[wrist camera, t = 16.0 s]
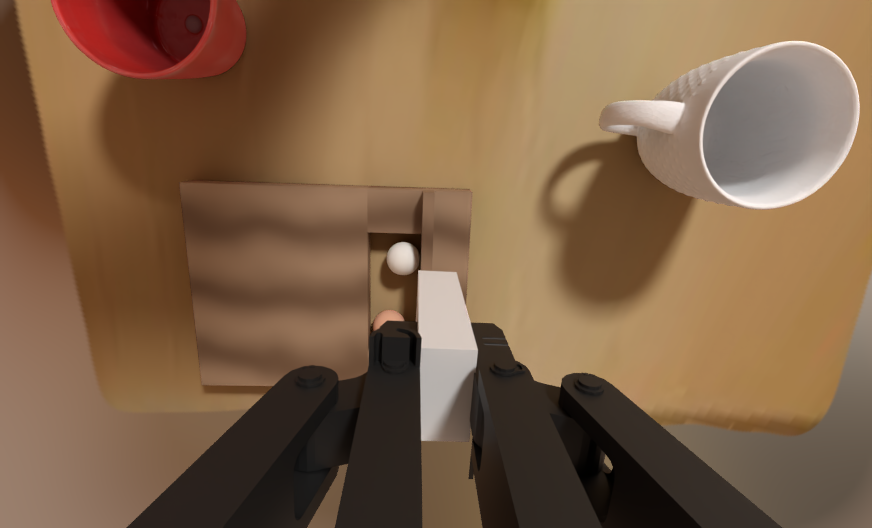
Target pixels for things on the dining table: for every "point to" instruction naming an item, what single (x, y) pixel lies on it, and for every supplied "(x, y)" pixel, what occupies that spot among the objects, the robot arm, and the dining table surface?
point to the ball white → (403, 258)
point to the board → (301, 269)
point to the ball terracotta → (386, 318)
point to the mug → (747, 126)
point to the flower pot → (156, 35)
